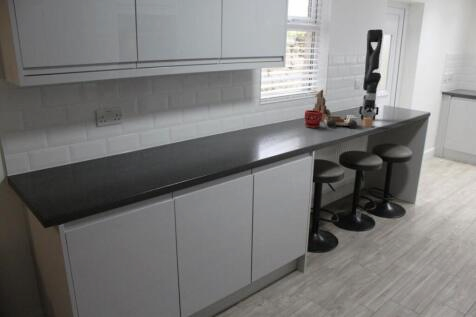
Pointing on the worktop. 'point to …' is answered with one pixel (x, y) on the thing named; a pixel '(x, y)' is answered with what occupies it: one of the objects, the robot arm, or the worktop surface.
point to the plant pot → (313, 121)
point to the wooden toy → (321, 105)
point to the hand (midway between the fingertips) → (367, 119)
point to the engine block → (367, 122)
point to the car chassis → (340, 121)
